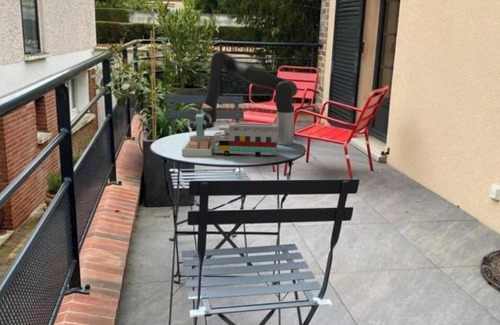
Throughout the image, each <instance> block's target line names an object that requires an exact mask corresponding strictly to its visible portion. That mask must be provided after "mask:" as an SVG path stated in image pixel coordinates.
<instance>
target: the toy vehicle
mask: <svg viewBox="0 0 500 325" xmlns="http://www.w3.org/2000/svg"><path fill="white" fill-rule="evenodd" d="M277 126H278V124H276V123H263V122H262V123H259V122H255V123H254V122H231V123H230V124H221V125H219V127H218V131H216V132H215V133H214V134H213V136H214V140H216V143H215V145H214V152H213V154H224V157H226V156H227V157H230V156H231V154H232V155H233V154H235V155H237V154H239V155H255V156H254V157H255V158H261V157H262V156H267V155H268V156H277V151H278V144H277Z"/></svg>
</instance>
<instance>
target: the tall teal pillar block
mask: <svg viewBox="0 0 500 325" xmlns="http://www.w3.org/2000/svg"><path fill="white" fill-rule="evenodd" d="M195 121H196V130H195V131H196V132H195V133H196V135H197V136H193V135H189V140H190V142H200V141H208V142H210V136H211V135H205V130H203V127H202V126H203V124H204V114H198V113H196V115H195Z"/></svg>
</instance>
